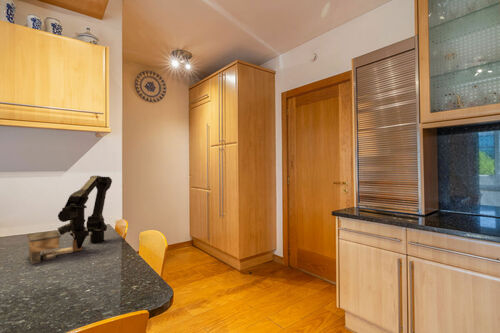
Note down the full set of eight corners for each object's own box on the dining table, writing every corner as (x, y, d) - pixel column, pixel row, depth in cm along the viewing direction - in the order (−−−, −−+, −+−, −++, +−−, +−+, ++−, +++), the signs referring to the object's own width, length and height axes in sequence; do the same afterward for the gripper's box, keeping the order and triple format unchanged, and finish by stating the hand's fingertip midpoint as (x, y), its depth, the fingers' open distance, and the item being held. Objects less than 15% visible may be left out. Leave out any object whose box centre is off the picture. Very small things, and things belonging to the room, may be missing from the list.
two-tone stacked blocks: (82, 247, 135) (81, 238, 135) (82, 250, 131) (81, 240, 131) (42, 254, 126) (42, 244, 126) (41, 257, 122) (41, 247, 121)
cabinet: (55, 251, 131) (55, 230, 131) (60, 258, 121) (60, 235, 121) (27, 256, 123) (27, 234, 123) (30, 264, 113) (30, 240, 113)
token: (54, 255, 125) (54, 250, 125) (56, 257, 121) (56, 252, 121) (41, 257, 121) (41, 252, 121) (42, 260, 118) (42, 255, 118)
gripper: (56, 217, 133) (56, 247, 133) (62, 222, 120) (62, 255, 120) (80, 214, 141) (80, 242, 141) (89, 219, 128) (89, 250, 127)
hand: (78, 247), depth 132 cm, fingers closed on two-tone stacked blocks, 4 cm apart
